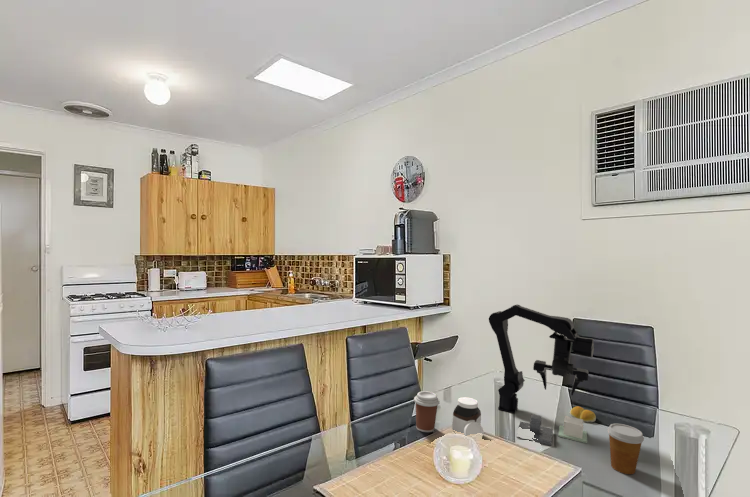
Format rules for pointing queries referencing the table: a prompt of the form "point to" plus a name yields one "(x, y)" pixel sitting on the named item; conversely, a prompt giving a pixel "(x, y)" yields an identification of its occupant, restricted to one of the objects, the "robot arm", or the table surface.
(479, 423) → the spread jar
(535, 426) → the post stand
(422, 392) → the coffee cup
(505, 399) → the robot arm
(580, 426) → the beige block
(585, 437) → the pad
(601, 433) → the table surface
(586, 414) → the bread roll
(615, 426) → the disposable coffee cup
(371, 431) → the table surface
